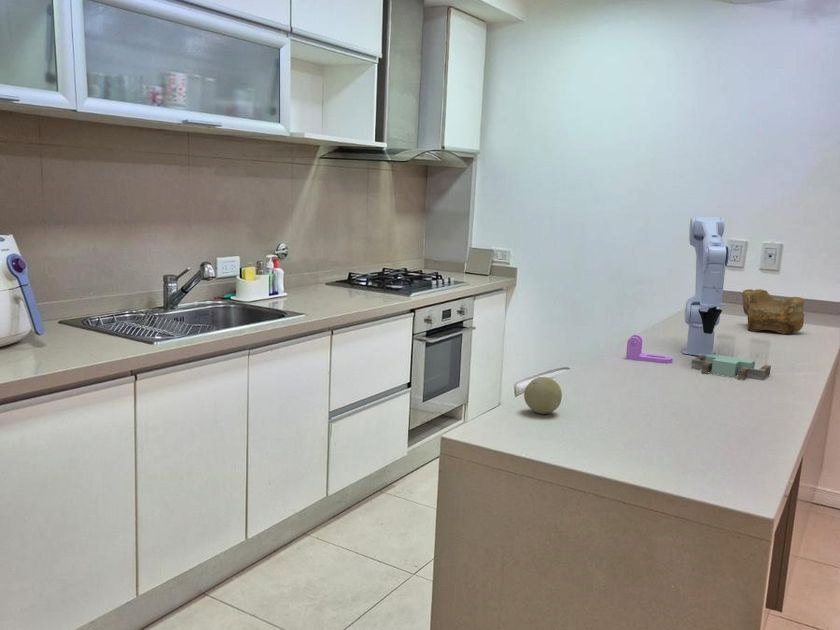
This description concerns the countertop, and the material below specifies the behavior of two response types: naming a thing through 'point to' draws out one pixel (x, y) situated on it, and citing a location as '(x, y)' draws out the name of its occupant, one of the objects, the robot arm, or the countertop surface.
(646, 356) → the bracket
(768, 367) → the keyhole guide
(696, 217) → the robot arm
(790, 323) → the rough brown rock
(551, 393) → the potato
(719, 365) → the t slider
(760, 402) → the countertop surface
